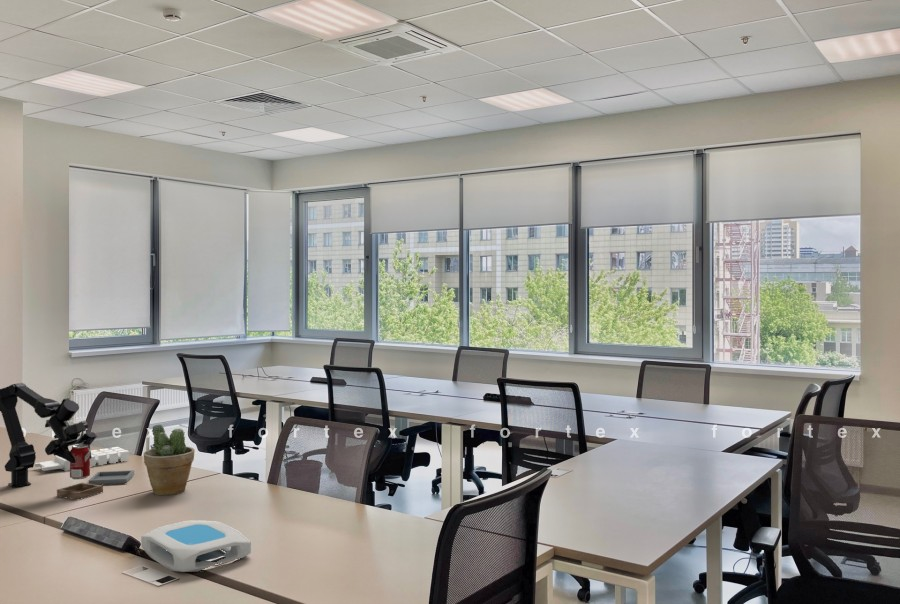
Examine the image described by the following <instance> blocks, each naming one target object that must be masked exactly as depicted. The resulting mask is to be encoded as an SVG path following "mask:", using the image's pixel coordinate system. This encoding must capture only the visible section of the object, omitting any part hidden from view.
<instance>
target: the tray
mask: <svg viewBox="0 0 900 604" xmlns="http://www.w3.org/2000/svg"><path fill="white" fill-rule="evenodd" d="M133 475H134V476H135V470H134V469H133V470H111V471H108V470H107V471H97V472H96V473H95V474H94V475H93V476H92V477H90V478H89V480H88V482H87V483H88V484H95V485H102V484H103V485H102V486H105V485H104V484H112V485H126V484H125V483H127V482H128V481H129V482H130V480H131V479H132V478H133V477H134V476H133ZM132 476H133V477H132ZM129 482H128V483H129ZM128 483H127V484H128Z"/></svg>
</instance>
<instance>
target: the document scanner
mask: <svg viewBox="0 0 900 604" xmlns="http://www.w3.org/2000/svg"><path fill="white" fill-rule="evenodd" d="M140 537H141V538H140V540H141V541H140V543H141V549H143V551H144V552H145V554H147V555H148V556H149V558H151V559H152V560H154V561H155V562H157V563H159V564H160V565H162V566H163V567H165V568H166V569H168V570H169V571H172V572H181V573H186V572H187V573H189V572H190V573H192V572H199V571H200V570H202V569H205V568H208V567H210V566H214V565H215V564H217V563H219V564H220V563H221V562H222V563H224V562H227V561H228V562H229V561H231V560H235V559H239V558H241V559H243V558H245V557H247V556H248V555H250V554H251V551H252V541H251V540H250V539H248V537H246V536H245V535H243V533H241V531H239V530H237V529H236V528H233V527H231V526H230V525H228V524H225V523H223V522H221V521H214V520H204V519H203V520H201V519H200V520H198V519H197V520H195V519H192V520H191V519H189V520H188V519H187V520H183V521H179V522H175V523H170V524H167V525H162V526H159V527H156V528H155V529H153V530H150V531H148V532H147V533H144V534H142V535H141V536H140ZM219 549H221V550H223V551H225V552H226V553H223V554H222V555H223V556H225V557H226V558H224V559H221V560H219V561H217V562H210V561H203V560H200V562H199V561H196V560H197V558H198V556H201V555H204V554H207V553H212V552H214V551H219ZM166 550H167V551H166ZM239 560H240V559H239ZM200 572H201V571H200Z"/></svg>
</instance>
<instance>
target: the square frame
mask: <svg viewBox="0 0 900 604" xmlns="http://www.w3.org/2000/svg"><path fill="white" fill-rule="evenodd" d="M79 490H80V491H79ZM76 491H77V492H76ZM101 492H102V493H104V485H95V484H88V482H79V483H76V484H72V485H68V486H66V487H61V488H57V489H56V497H58V496H61V497H60V498H64V497H67V498H66V499H70V498H72V499H71V500H76V499H79V500H82V499H81V498H83V499H86V498H89V497H92V496H95V495H94V494H96V495H98V494H97V493H99V494H102V493H101ZM91 495H92V496H91ZM88 496H89V497H88ZM85 497H86V498H85Z"/></svg>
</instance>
